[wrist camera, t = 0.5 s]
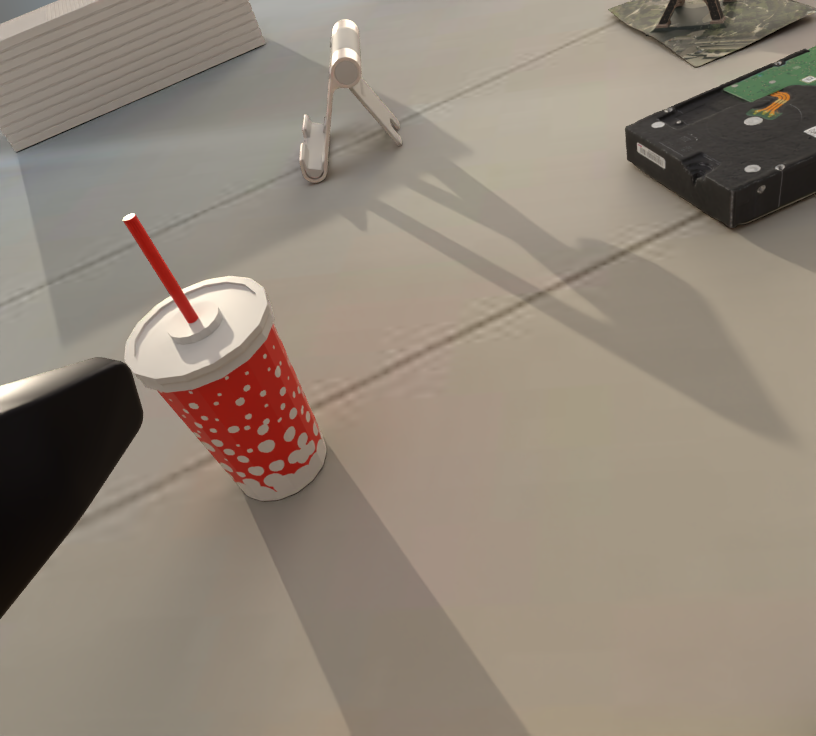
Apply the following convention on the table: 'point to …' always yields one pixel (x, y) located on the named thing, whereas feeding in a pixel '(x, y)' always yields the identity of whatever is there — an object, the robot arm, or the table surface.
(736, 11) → the eiffel tower figurine
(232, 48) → the stack of papers
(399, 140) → the tablet stand
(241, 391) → the beverage cup
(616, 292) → the table surface
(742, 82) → the disk drive
